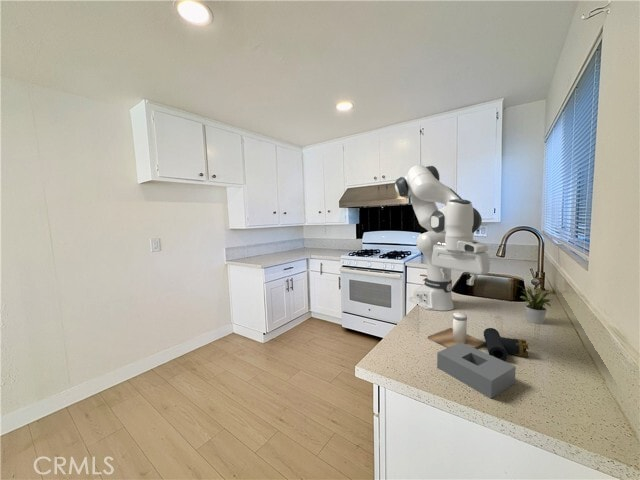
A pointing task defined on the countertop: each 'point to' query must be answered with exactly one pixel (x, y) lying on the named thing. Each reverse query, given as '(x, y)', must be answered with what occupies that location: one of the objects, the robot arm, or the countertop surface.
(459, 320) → the plug
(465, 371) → the socket block
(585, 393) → the countertop surface
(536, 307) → the house plant
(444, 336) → the pad
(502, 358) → the pipe connector
